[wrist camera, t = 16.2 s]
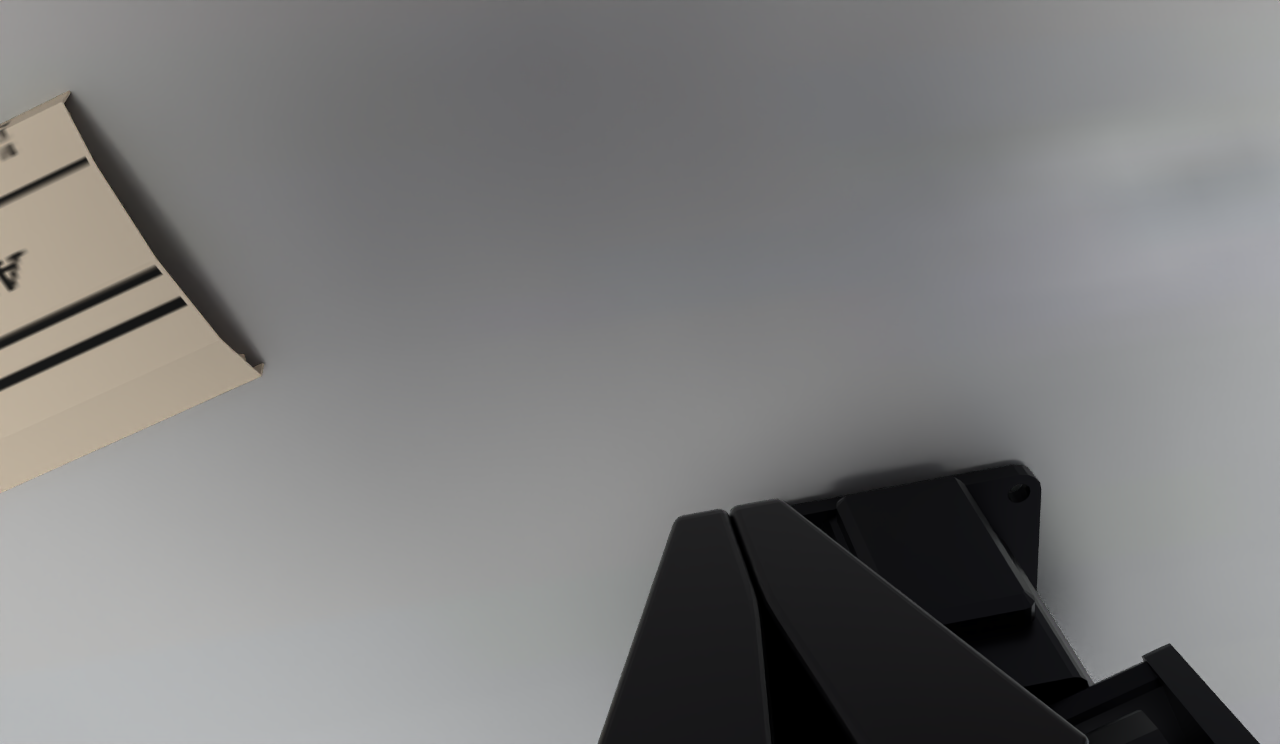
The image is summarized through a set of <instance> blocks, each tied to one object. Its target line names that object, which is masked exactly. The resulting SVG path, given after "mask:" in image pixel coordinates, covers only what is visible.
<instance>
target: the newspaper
mask: <svg viewBox="0 0 1280 744" xmlns="http://www.w3.org/2000/svg"><path fill="white" fill-rule="evenodd" d="M70 93H71V92H70V91H67V92H65V93H63V94H61V95H59V96H57V97H55V98H53V99H51V100H49V101H47V102H45V103H43V104H41V105H39V106H37V107H35V108H33V109H31V110H28V111H26V112H24V113H22V114H20V115H18V116H16V117H14V118H12V119H10V120H8V121H6V122H4V123H2V124H0V493H2V492H4V491H6V490H9V489H11V488H13V487H15V486H18V485H20V484H22V483H24V482H26V481H29V480H31V479H33V478H35V477H38V476H40V475H42V474H44V473H47V472H49V471H51V470H53V469H56V468H58V467H60V466H62V465H64V464H67V463H69V462H71V461H73V460H76V459H78V458H80V457H82V456H85V455H87V454H89V453H91V452H93V451H96V450H98V449H100V448H102V447H105V446H107V445H109V444H111V443H114V442H116V441H118V440H120V439H123V438H125V437H127V436H129V435H131V434H134V433H136V432H138V431H140V430H143V429H145V428H147V427H149V426H152V425H154V424H156V423H158V422H160V421H163V420H165V419H167V418H169V417H172V416H174V415H176V414H178V413H181V412H183V411H185V410H187V409H190V408H192V407H194V406H196V405H198V404H201V403H203V402H205V401H207V400H210V399H212V398H214V397H216V396H219V395H221V394H223V393H225V392H228V391H230V390H232V389H234V388H236V387H239V386H241V385H243V384H245V383H248V382H250V381H252V380H254V379H257V378H259V377H261V376H262V372H263V367H264V364H263V363H261V364H259V365H257V366H255V367H252V366H251V365H250V364H249V363H248V362H246V361H245V360H246V358H245V355H244V354H238V353H236V352H235V351H234V350H233V349H232V348H231V347H230V346H229V345H228V344H226V343H225V342H224V341H223V340H222V339H221V338H220V337H219V336H218V334H217V333H216V332H215V331H214V329H213V328H212V327H211V326H210V324H209V323H208V322H207V321H206V319H205V318H204V317H203V316H202V314H201V313H200V312H199V311H198V309H197V308H196V307H195V306H194V304H193V303H192V302H191V301H190V299H189V298H188V297H187V296H186V294H185V293H184V292H183V291H182V289H181V288H180V287H179V286H178V284H177V283H176V282H175V281H174V279H173V278H172V277H171V276H170V274H169V273H168V272H167V271H166V269H165V268H164V267H163V266H162V264H161V263H160V262H159V261H158V259H157V258H156V257H155V255H154V254H153V252H152V251H151V249H150V247H149V246H148V244H147V243H146V241H145V240H144V238H143V237H142V235H141V233H140V232H139V230H138V229H137V227H136V226H135V224H134V223H133V221H132V219H131V218H130V216H129V215H128V213H127V212H126V210H125V209H124V207H123V205H122V204H121V202H120V201H119V199H118V198H117V196H116V195H115V193H114V191H113V190H112V188H111V187H110V185H109V184H108V182H107V181H106V179H105V177H104V176H103V174H102V173H101V171H100V170H99V168H98V167H97V165H96V163H95V161H94V160H93V158H92V156H91V154H90V152H89V150H88V148H87V146H86V144H85V143H84V141H83V139H82V137H81V135H80V133H79V131H78V129H77V127H76V125H75V124H74V122H73V120H72V118H71V116H70V115H71V113H69V112H68V110H67V108H66V107H65V105H64V102H65V101H66V99H67V98H68V96H69V95H70Z"/></svg>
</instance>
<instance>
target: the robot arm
mask: <svg viewBox="0 0 1280 744" xmlns="http://www.w3.org/2000/svg"><path fill="white" fill-rule="evenodd" d="M1018 484H1022V486H1021V487H1020V488H1019V489H1018V490H1016V491H1014V492H1009V490H1010V489H1011V488H1012V487H1013V486H1016V485H1018ZM1040 506H1041V485H1040V482H1039V481H1038V479H1037V478H1036V477H1035V475H1034V474H1033V472H1032V471H1031V470H1030V469H1029V468H1028V467H1026V466H1023V465H1009V466H1003V467H998V468H992V469H987V470H981V471H976V472H971V473H965V474H960V475H954V476H949V477H943V478H938V479H933V480H927V481H922V482H916V483H911V484H905V485H900V486H895V487H889V488H884V489H878V490H873V491H868V492H862V493H857V494H851V495H846V496H840V497H835V498H830V499H824V500H819V501H813V502H808V503H802V504H797V505H792V506H790V505H788V504H787V503H786V502H784V501H782V500H779V499H770V500H764V501H759V502H753V503H748V504H743V505H737V506H735V507H733V508H732V509H731V511H730V514H728V513H727V512H726V511H724V510H722V509H716V510H710V511H705V512H699V513H694V514H688V515H683V516H680V517H678V518H677V519H676V520H675V522H674V524H673V526H672V529H671V532H670V534H669V537H668V540H667V543H666V546H665V549H664V552H663V555H662V558H661V561H660V564H659V566H658V569H657V572H656V575H655V578H654V581H653V584H652V587H651V590H650V593H649V596H648V599H647V601H646V604H645V607H644V610H643V613H642V616H641V619H640V622H639V625H638V628H637V631H636V633H635V636H634V639H633V642H632V645H631V648H630V651H629V654H628V657H627V660H626V663H625V666H624V668H623V671H622V674H621V677H620V680H619V683H618V686H617V689H616V692H615V695H614V698H613V700H612V703H611V706H610V709H609V712H608V715H607V718H606V721H605V724H604V727H603V730H602V733H601V735H600V738H599V741H598V744H1260V743H1259V742H1258V741H1257V740H1256V739H1255V738H1254V737H1253V736H1252V735H1251V733H1250V732H1249V731H1248V730H1247V729H1246V728H1245V727H1244V726H1243V724H1242V723H1241V722H1240V721H1239V720H1238V719H1237V718H1236V717H1235V716H1234V714H1233V713H1232V712H1231V711H1230V710H1229V709H1228V708H1227V707H1226V706H1225V704H1224V703H1223V702H1222V701H1221V700H1220V699H1219V698H1218V697H1217V695H1216V694H1215V693H1214V692H1213V691H1212V690H1211V689H1210V688H1209V687H1208V685H1207V684H1206V683H1205V682H1204V681H1203V680H1202V679H1201V678H1200V676H1199V675H1198V674H1197V673H1196V672H1195V671H1194V670H1193V669H1192V668H1191V666H1190V665H1189V664H1188V663H1187V662H1186V661H1185V660H1184V659H1183V658H1182V656H1181V655H1180V654H1179V653H1178V652H1177V651H1176V650H1175V649H1174V647H1173V646H1172V645H1171V644H1170V643H1169V644H1167V645H1165V646H1162V647H1160V648H1158V649H1156V650H1154V651H1152V652H1149V653H1147V654H1145V655H1143V656H1142V658H1143V660H1144V661H1143V662H1141V663H1139V664H1137V665H1134V666H1132V667H1130V668H1128V669H1126V670H1124V671H1121V672H1119V673H1117V674H1115V675H1113V676H1111V677H1108V678H1106V679H1104V680H1102V681H1100V682H1098V683H1095V684H1094V683H1093V681H1092V679H1091V678H1090V676H1089V675H1088V673H1087V671H1086V670H1085V668H1084V667H1083V665H1082V663H1081V662H1080V660H1079V659H1078V657H1077V656H1076V654H1075V652H1074V651H1073V649H1072V648H1071V646H1070V644H1069V643H1068V641H1067V640H1066V638H1065V636H1064V635H1063V633H1062V632H1061V630H1060V629H1059V627H1058V625H1057V624H1056V622H1055V621H1054V619H1053V617H1052V616H1051V614H1050V613H1049V611H1048V609H1047V608H1046V606H1045V605H1044V603H1043V602H1042V600H1041V598H1040V597H1039V595H1038V594H1037V592H1036V590H1037V569H1038V548H1039V527H1040Z"/></svg>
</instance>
